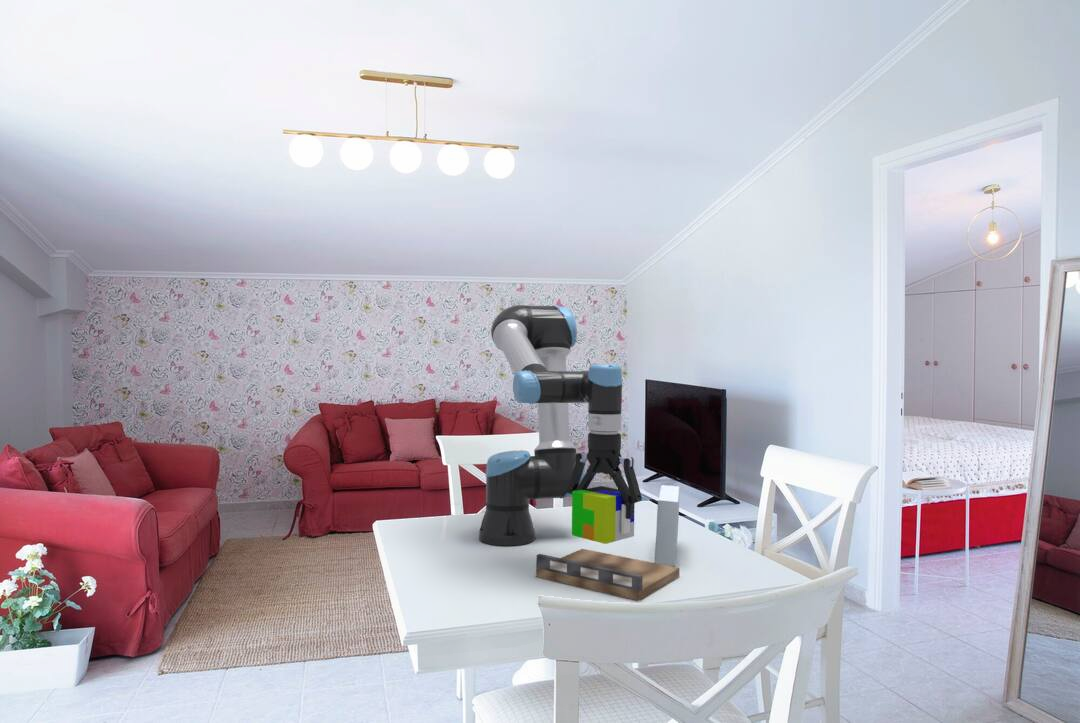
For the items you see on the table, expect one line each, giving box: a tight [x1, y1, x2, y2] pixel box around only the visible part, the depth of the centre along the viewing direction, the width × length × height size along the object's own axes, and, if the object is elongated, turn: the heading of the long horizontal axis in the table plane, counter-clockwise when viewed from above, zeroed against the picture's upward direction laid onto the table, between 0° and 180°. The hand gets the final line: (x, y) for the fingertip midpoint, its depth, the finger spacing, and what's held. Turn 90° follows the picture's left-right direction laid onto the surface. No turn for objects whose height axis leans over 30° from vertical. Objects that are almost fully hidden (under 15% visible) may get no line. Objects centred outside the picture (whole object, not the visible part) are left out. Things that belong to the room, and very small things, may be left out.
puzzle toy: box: [571, 485, 636, 545], centre depth 167 cm, size 10×10×10 cm
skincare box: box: [653, 484, 680, 567], centre depth 186 cm, size 21×6×16 cm, turn 168°
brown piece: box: [535, 548, 680, 601], centre depth 167 cm, size 26×20×5 cm
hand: (603, 529), depth 167 cm, fingers closed on puzzle toy, 11 cm apart
